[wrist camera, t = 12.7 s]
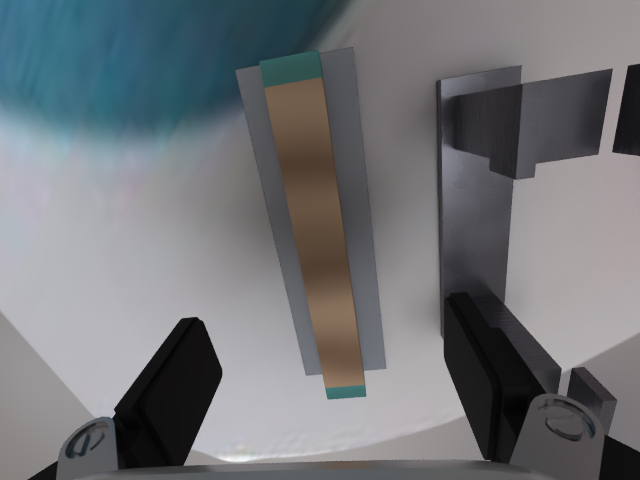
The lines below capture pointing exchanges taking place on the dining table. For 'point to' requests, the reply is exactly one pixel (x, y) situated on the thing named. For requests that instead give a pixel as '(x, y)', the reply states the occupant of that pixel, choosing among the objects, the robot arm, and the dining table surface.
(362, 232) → the mat
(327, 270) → the rail
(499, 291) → the bracket
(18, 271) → the dining table surface
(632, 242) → the dining table surface
